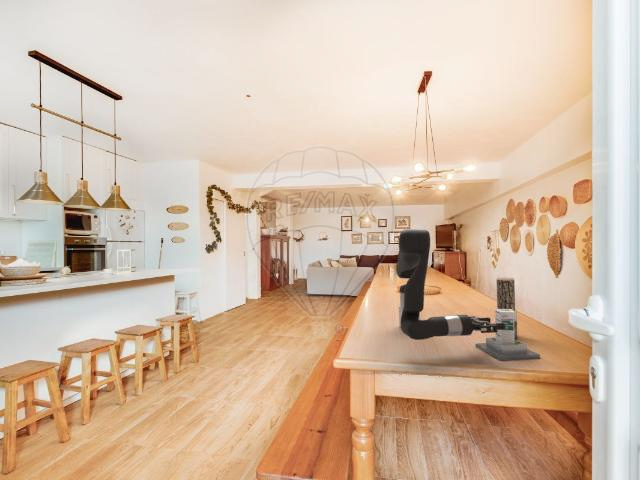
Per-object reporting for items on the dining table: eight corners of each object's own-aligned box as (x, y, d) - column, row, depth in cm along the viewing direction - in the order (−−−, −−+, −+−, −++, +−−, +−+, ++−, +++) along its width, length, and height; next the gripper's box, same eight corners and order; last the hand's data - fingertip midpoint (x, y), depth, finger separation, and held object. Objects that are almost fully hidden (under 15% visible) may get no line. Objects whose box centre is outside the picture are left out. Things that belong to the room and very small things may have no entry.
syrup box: (500, 350, 118) (500, 311, 118) (495, 345, 124) (494, 308, 124) (517, 351, 117) (517, 311, 117) (511, 346, 122) (511, 308, 122)
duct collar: (500, 360, 112) (499, 348, 112) (475, 346, 127) (475, 336, 127) (540, 358, 113) (539, 346, 113) (511, 344, 128) (510, 333, 128)
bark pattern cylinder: (518, 337, 136) (516, 279, 136) (501, 337, 137) (499, 279, 138) (512, 333, 143) (510, 277, 143) (495, 332, 144) (494, 277, 144)
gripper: (466, 320, 111) (509, 317, 113) (446, 311, 125) (485, 309, 127) (466, 341, 111) (510, 338, 113) (446, 330, 125) (485, 328, 127)
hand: (497, 323), depth 120 cm, fingers open, 8 cm apart
